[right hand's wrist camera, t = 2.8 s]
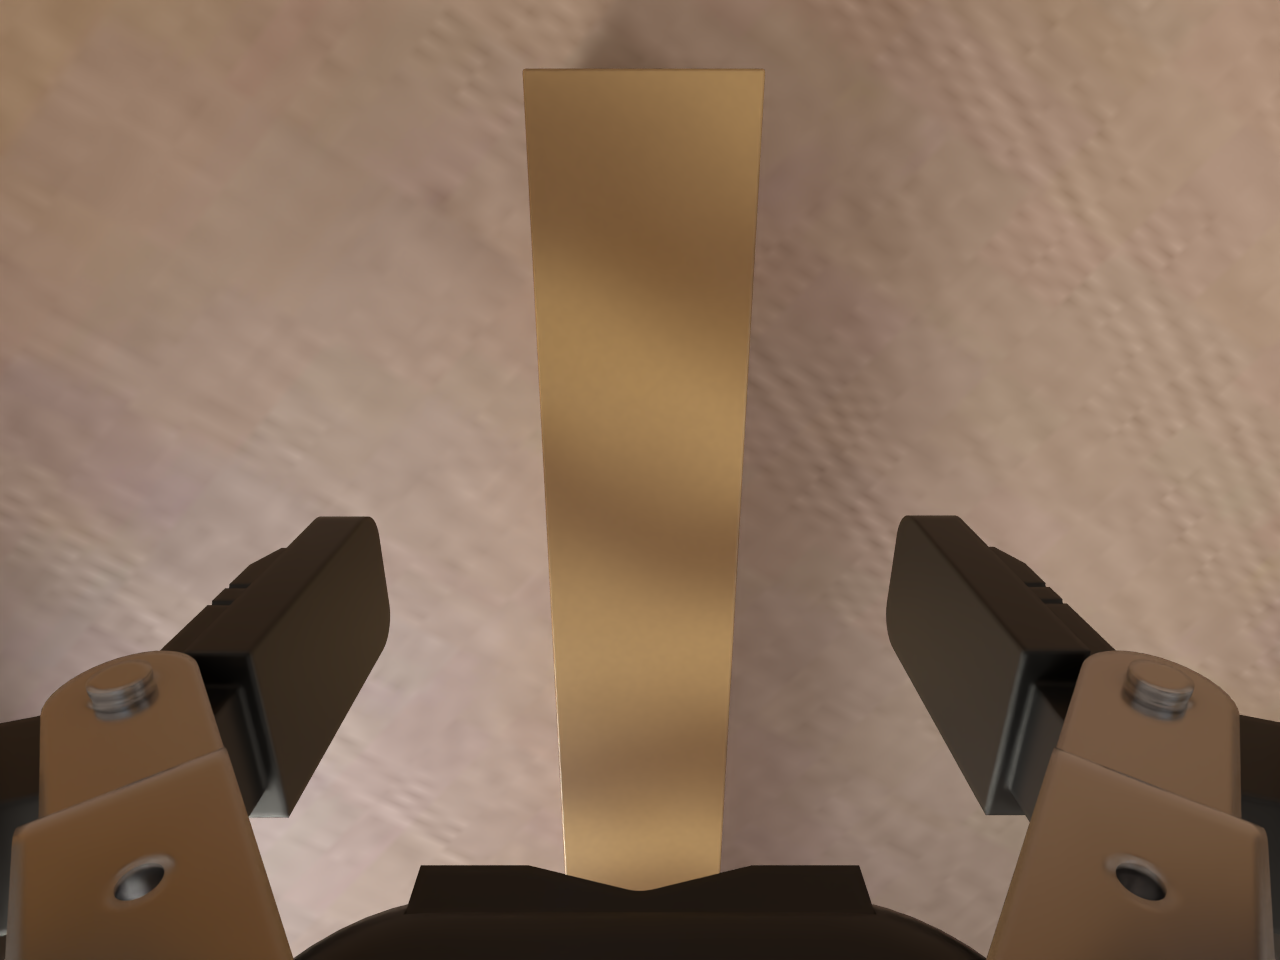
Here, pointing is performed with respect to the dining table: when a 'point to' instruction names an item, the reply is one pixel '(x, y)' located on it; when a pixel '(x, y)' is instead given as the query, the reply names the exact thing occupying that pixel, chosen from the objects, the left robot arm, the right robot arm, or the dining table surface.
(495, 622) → the dining table surface
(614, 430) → the bar
